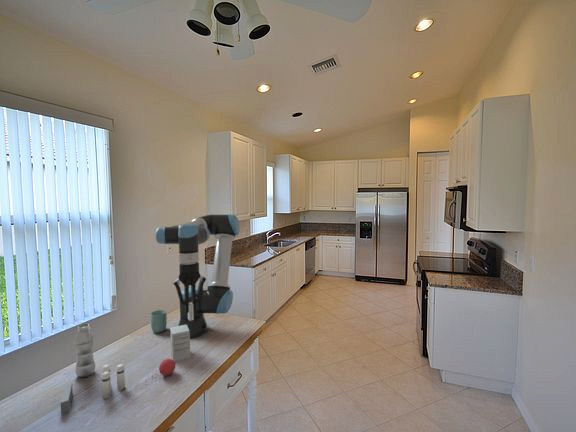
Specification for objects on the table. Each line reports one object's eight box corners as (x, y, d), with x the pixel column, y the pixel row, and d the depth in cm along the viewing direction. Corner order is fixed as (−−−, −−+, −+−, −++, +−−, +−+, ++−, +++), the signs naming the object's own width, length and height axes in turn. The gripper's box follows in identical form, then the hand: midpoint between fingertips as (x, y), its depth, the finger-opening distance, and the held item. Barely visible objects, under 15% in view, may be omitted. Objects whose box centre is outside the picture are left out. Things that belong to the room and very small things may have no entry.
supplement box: (170, 354, 130) (169, 327, 129) (188, 350, 133) (187, 323, 132) (172, 362, 123) (171, 334, 122) (190, 358, 126) (189, 330, 126)
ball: (174, 368, 119) (173, 354, 119) (176, 375, 114) (176, 361, 114) (158, 372, 116) (157, 358, 116) (160, 380, 111) (159, 365, 110)
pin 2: (110, 393, 104) (109, 370, 103) (110, 397, 102) (109, 373, 101) (102, 395, 103) (101, 372, 102) (102, 399, 101) (101, 376, 100)
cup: (169, 330, 153) (169, 312, 152) (154, 335, 147) (154, 316, 147) (163, 326, 158) (162, 308, 158) (148, 331, 152) (147, 312, 152)
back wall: (72, 394, 103) (72, 383, 103) (68, 412, 95) (68, 400, 95) (65, 396, 102) (65, 385, 102) (61, 414, 94) (60, 402, 94)
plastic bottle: (85, 380, 111) (83, 330, 110) (71, 378, 113) (68, 328, 111) (99, 370, 118) (97, 322, 116) (85, 368, 119) (83, 321, 118)
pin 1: (111, 385, 108) (110, 363, 108) (110, 389, 106) (109, 366, 106) (103, 387, 107) (102, 365, 106) (103, 391, 105) (101, 368, 104)
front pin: (124, 385, 108) (124, 363, 108) (125, 388, 106) (124, 366, 106) (117, 387, 107) (116, 365, 107) (117, 391, 105) (116, 368, 105)
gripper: (173, 266, 110) (175, 326, 112) (208, 262, 117) (209, 318, 119) (170, 262, 117) (172, 319, 118) (203, 259, 124) (204, 312, 125)
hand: (190, 319), depth 119 cm, fingers closed
